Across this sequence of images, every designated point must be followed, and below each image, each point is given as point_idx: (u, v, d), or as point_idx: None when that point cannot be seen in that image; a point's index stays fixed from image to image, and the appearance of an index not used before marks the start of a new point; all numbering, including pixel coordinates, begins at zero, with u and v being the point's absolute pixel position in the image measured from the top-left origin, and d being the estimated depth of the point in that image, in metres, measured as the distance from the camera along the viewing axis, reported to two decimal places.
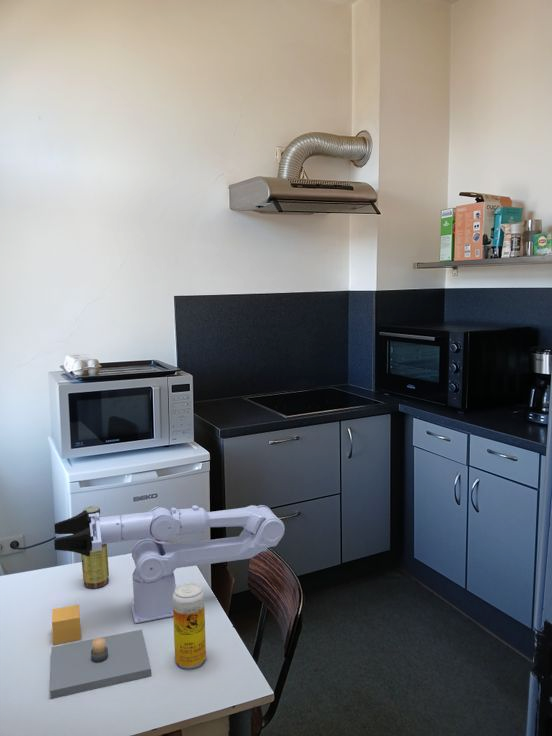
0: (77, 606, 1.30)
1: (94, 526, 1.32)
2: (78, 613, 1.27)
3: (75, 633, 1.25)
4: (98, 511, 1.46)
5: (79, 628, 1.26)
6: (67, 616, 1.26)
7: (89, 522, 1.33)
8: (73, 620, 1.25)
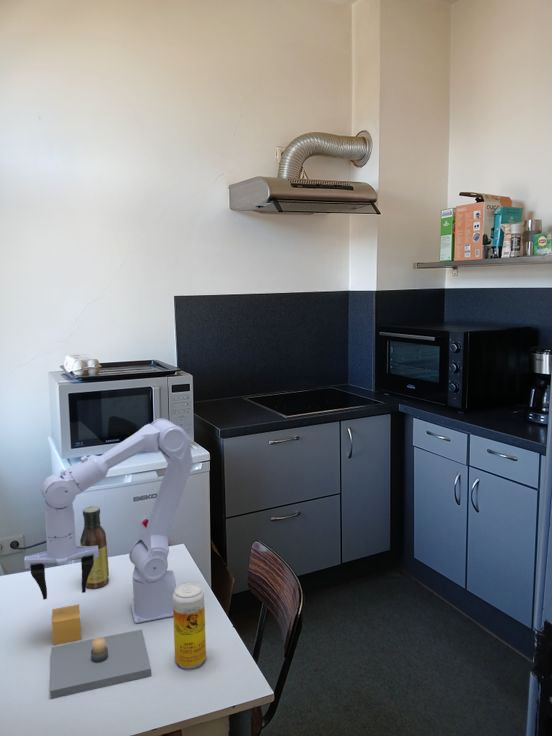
0: (77, 606, 1.30)
1: None
2: (78, 613, 1.27)
3: (75, 633, 1.25)
4: (98, 511, 1.46)
5: (79, 628, 1.26)
6: (67, 616, 1.26)
7: (42, 565, 1.24)
8: (73, 620, 1.25)
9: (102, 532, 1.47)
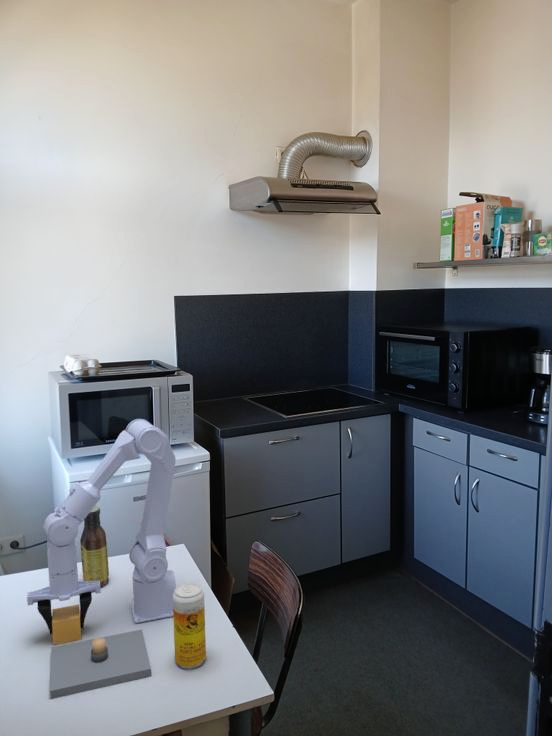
0: (77, 606, 1.30)
1: None
2: (78, 613, 1.27)
3: (75, 633, 1.25)
4: (98, 511, 1.46)
5: (79, 628, 1.26)
6: (67, 616, 1.26)
7: None
8: (73, 620, 1.25)
9: (102, 532, 1.47)
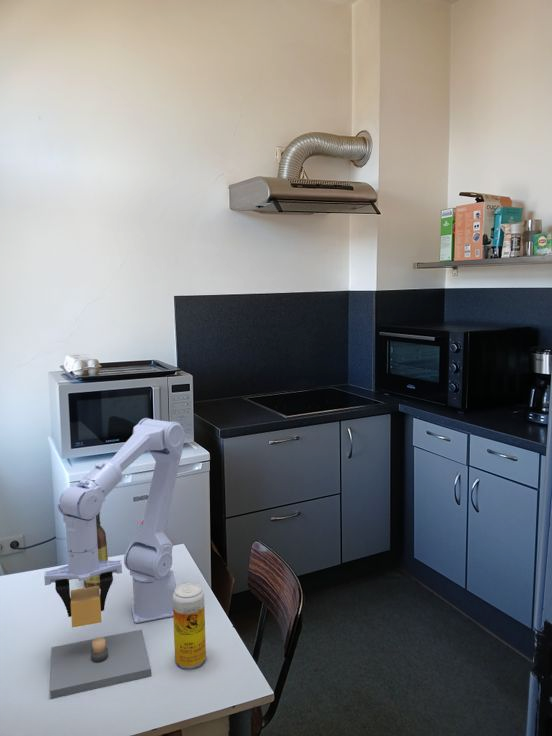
0: (97, 587, 1.22)
1: None
2: (98, 594, 1.19)
3: (95, 615, 1.17)
4: None
5: (99, 610, 1.18)
6: (86, 597, 1.18)
7: None
8: (93, 601, 1.17)
9: (102, 532, 1.47)
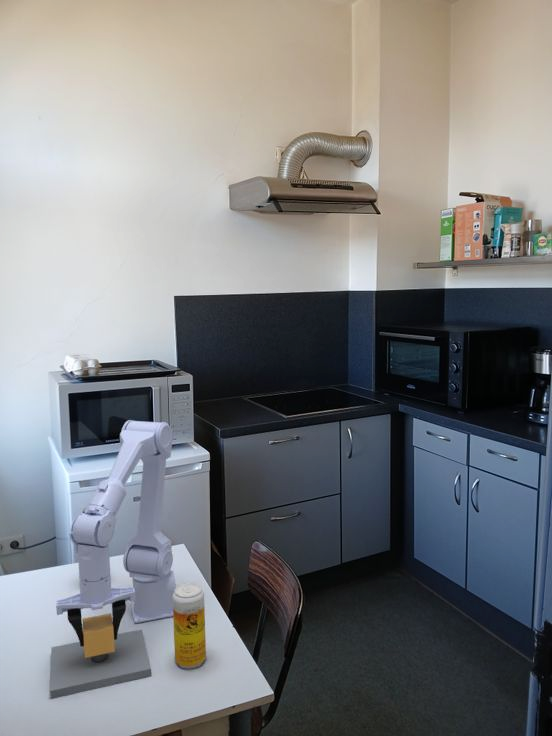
0: (109, 615, 1.19)
1: None
2: (111, 623, 1.16)
3: (108, 645, 1.15)
4: None
5: (112, 639, 1.15)
6: (99, 626, 1.15)
7: None
8: (106, 630, 1.14)
9: None
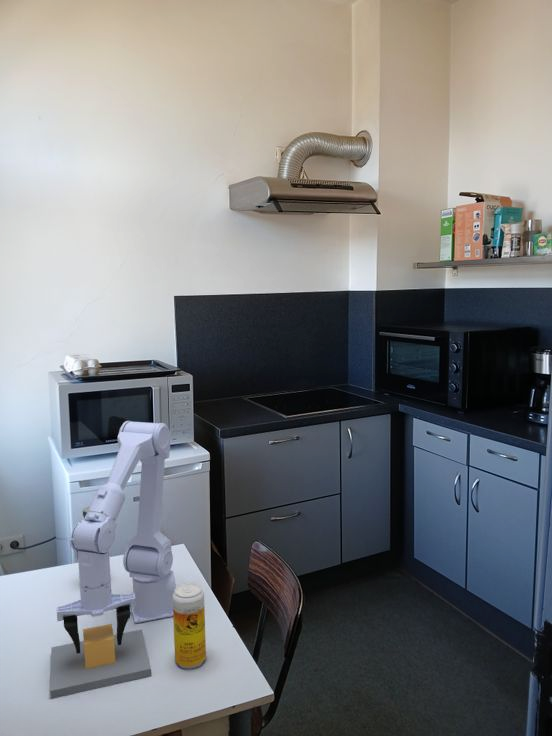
0: (110, 626, 1.19)
1: None
2: (112, 634, 1.16)
3: (109, 656, 1.15)
4: None
5: (113, 650, 1.15)
6: (100, 637, 1.15)
7: (75, 616, 1.14)
8: (106, 641, 1.15)
9: None
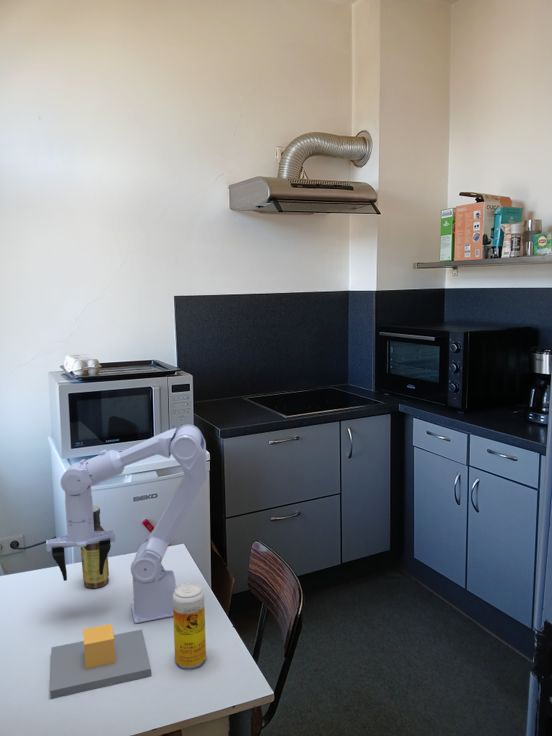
0: (110, 626, 1.19)
1: None
2: (112, 634, 1.16)
3: (109, 656, 1.15)
4: (98, 511, 1.46)
5: (113, 650, 1.15)
6: (100, 637, 1.15)
7: (63, 548, 1.31)
8: (106, 641, 1.15)
9: None
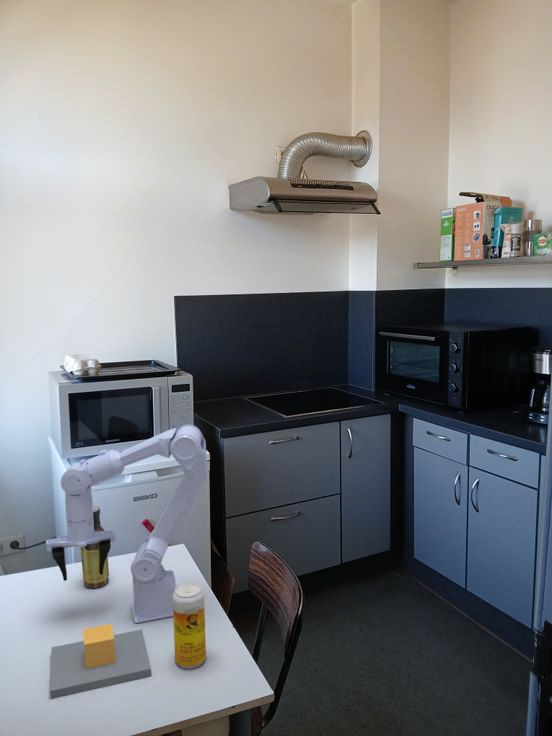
0: (110, 626, 1.19)
1: None
2: (112, 634, 1.16)
3: (109, 656, 1.15)
4: (98, 511, 1.46)
5: (113, 650, 1.15)
6: (100, 637, 1.15)
7: (63, 548, 1.32)
8: (106, 641, 1.15)
9: None
